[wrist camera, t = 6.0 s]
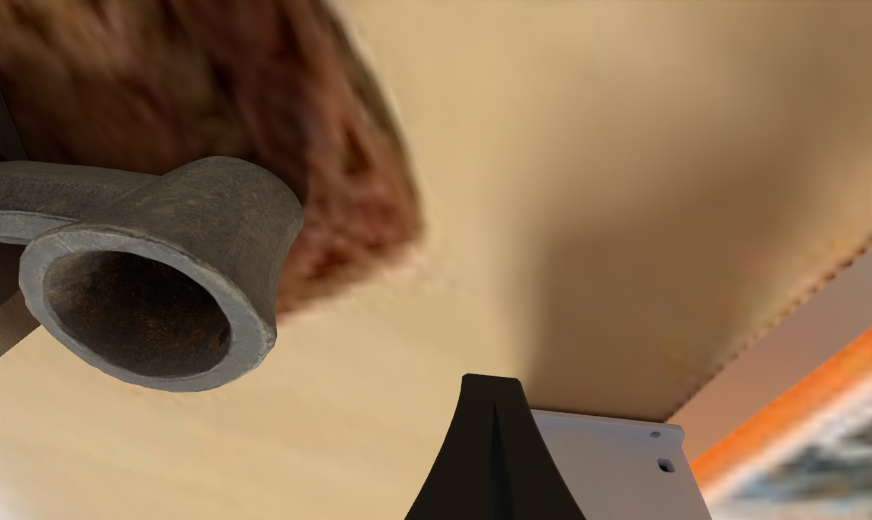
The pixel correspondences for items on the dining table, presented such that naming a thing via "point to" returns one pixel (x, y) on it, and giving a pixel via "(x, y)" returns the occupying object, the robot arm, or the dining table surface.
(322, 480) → the dining table surface
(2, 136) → the valve
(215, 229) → the pipe
